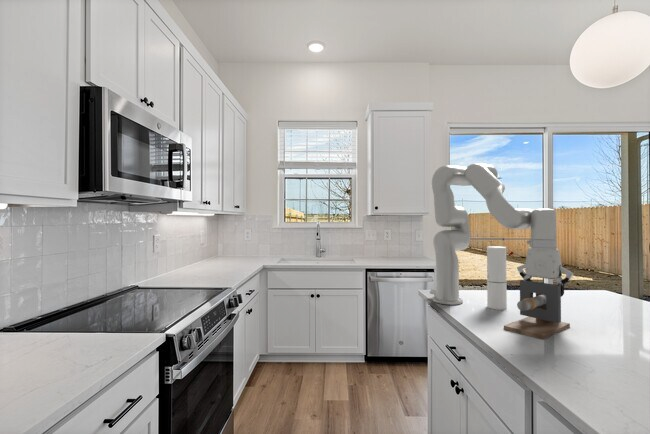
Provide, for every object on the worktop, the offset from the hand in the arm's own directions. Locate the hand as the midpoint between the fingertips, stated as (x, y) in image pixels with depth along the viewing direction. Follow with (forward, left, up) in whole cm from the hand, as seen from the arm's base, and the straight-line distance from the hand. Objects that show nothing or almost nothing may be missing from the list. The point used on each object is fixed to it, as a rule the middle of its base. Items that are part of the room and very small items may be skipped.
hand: (543, 294), depth 120 cm
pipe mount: (0, -5, -11) cm, 12 cm away
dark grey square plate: (0, -3, -8) cm, 8 cm away
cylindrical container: (-22, +10, -11) cm, 26 cm away
